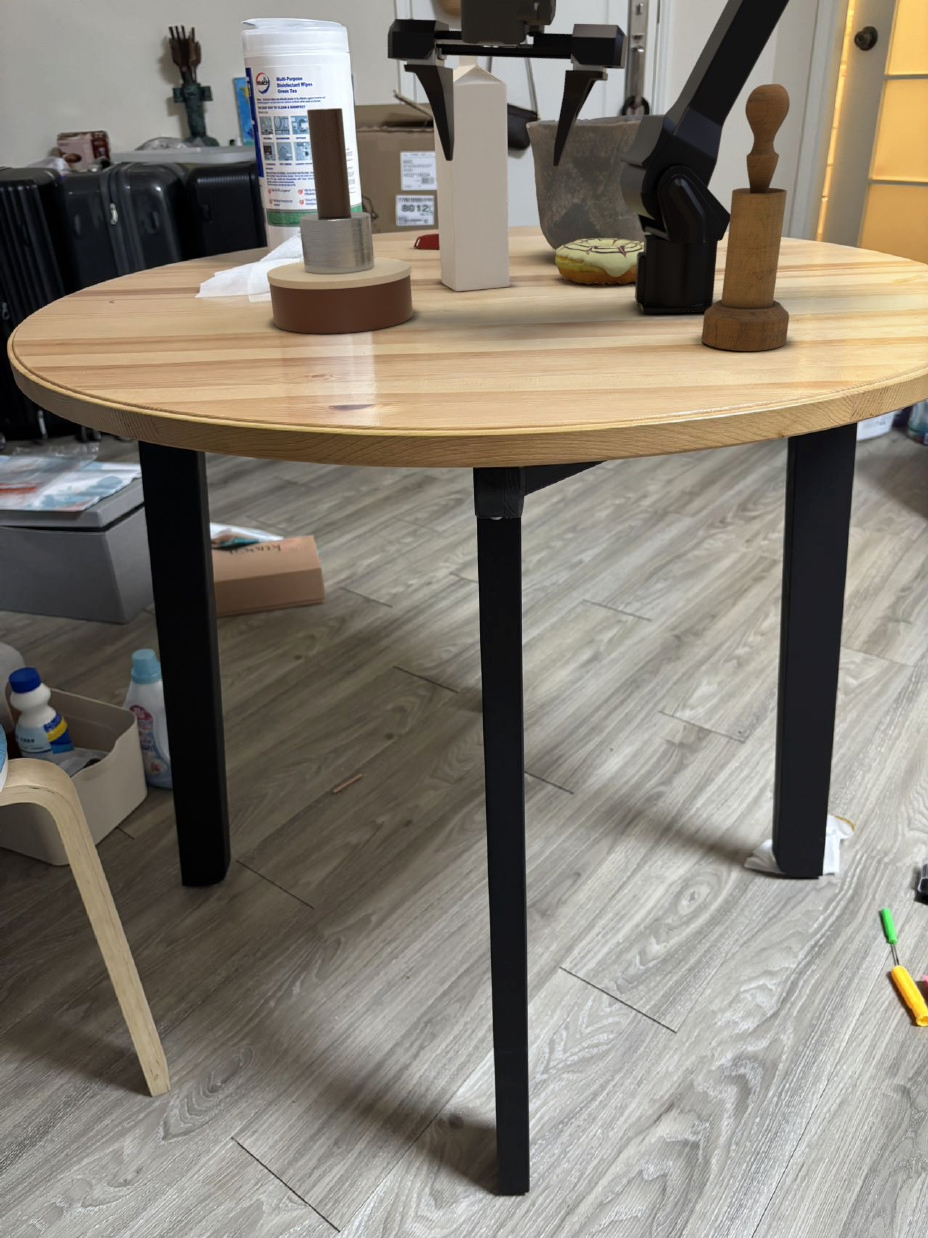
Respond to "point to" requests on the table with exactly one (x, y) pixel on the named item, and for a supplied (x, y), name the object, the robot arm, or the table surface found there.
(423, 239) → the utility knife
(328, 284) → the cake
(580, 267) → the decorated donut
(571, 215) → the grey stone pot
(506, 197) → the milk
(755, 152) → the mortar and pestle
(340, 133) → the brown and silver tamper
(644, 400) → the table surface
